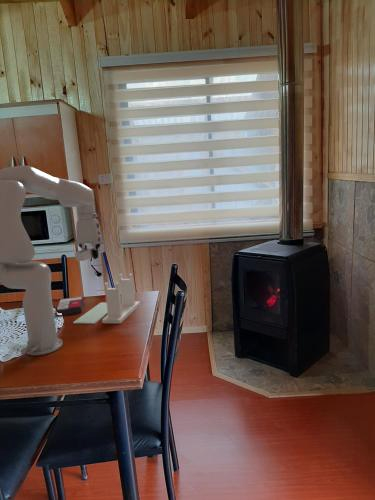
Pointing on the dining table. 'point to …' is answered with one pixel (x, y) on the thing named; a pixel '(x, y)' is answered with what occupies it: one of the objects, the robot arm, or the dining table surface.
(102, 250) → the rail
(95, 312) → the mat
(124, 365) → the dining table surface
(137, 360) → the dining table surface
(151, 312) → the dining table surface
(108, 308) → the rack
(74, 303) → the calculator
